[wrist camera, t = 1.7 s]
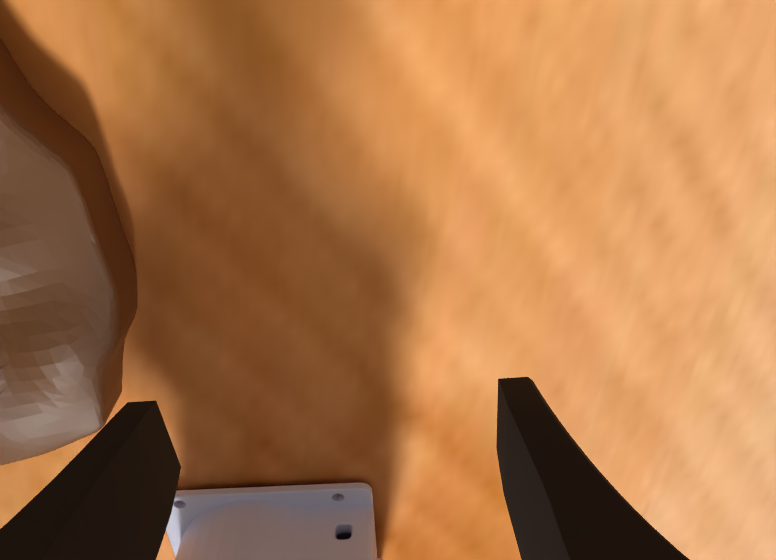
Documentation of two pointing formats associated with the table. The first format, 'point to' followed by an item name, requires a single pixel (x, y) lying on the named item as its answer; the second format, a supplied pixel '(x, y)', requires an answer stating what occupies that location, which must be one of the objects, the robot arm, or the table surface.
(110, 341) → the plant
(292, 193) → the table surface
